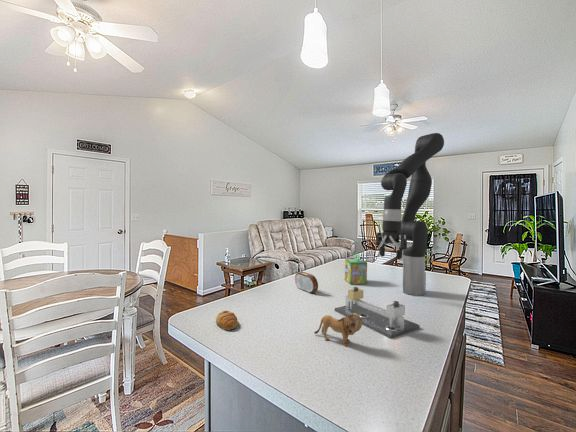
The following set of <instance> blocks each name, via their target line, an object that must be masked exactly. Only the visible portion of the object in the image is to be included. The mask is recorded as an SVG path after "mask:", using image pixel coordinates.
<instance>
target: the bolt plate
mask: <svg viewBox="0 0 576 432" xmlns="http://www.w3.org/2000/svg"><path fill="white" fill-rule="evenodd" d="M334 312H336V313H338V314H340V315H342V316H343V317H346V316H348V315H350V314H352V313H357V314H358V315H359V316H360V317H361V322H362V326H365V327H366V328H369V329H371V330H373V331H374V332H377V333H378V334H380V335H383V336H385V337H387V338H388V339H393V338H396V337H398V336H402V335H405V334H407V333H410V332H414V331H415V330H418V329H420V328H421V327H420V324H417V323H415V322H413V321H410V320H408V319H405V318H404V330H401V331H400V330H398V329H397V328H396V321H394V320H393V327H390V326H389V325H390V318H387V317H385V316H383V315H380V314H378V313H375V312H373V311H371V310H368V309H366V308H364V307H361V306H359V305H356V304H354V303H353V309H350V307H347V306H346V305H343V306H338V307H334Z"/></svg>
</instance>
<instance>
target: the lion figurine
mask: <svg viewBox="0 0 576 432" xmlns="http://www.w3.org/2000/svg"><path fill="white" fill-rule="evenodd" d="M362 326H363V325H362V322H361V317H360V316H359V315H358V314H357V313H352V314H350V315H348V316H343V317H342V318H340V319H338V318H336V317H335V318H334V317H333V316H332V315H328V314H327V315H324V316H322V318H321V320H320V323H319V326H318V327H319V328H318V329H317V330H316V331H314V332H313V333H314V334H315V335H316V334H319V332H321V334H322V335H323V339H324V341H329V340H330V338H329V337H328V336H327V332H328V329H329V328H331V330H333V332H335V333H337V334H338V333H339V334H341V335H342V341H343V342H342V343H343V347H349V343H350V342H351V340H350V339H348V338H349V336H353V335H355V334H356V333H357V332H359V331H360V330H361V329H362ZM320 330H321V331H320Z"/></svg>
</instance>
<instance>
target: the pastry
mask: <svg viewBox="0 0 576 432" xmlns="http://www.w3.org/2000/svg"><path fill="white" fill-rule="evenodd" d="M215 323H216V325H217V326H218V327H219V328H220V327H221V329H223V330H225V331H226V330H227V331H231V330H233V329H236V328H237V327H238V325H239V322H238V318H237V316H236V314H235V313H234V312H233V311H229V310H222V311H221V312H219V313H218V314H217V316H216V318H215Z"/></svg>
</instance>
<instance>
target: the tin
mask: <svg viewBox="0 0 576 432" xmlns="http://www.w3.org/2000/svg"><path fill="white" fill-rule="evenodd" d="M294 280H295V281H294V283H295V284H296V287H297V289H299V290H301V291H304V292H306V293H308V294H313V293H316V292H317V291H318V290H319V283H318V279H317V277H316V276H315V275H314V274H311V273H308V272H306V271H302V270H301V271H299V272H297V273H295V275H294Z"/></svg>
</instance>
